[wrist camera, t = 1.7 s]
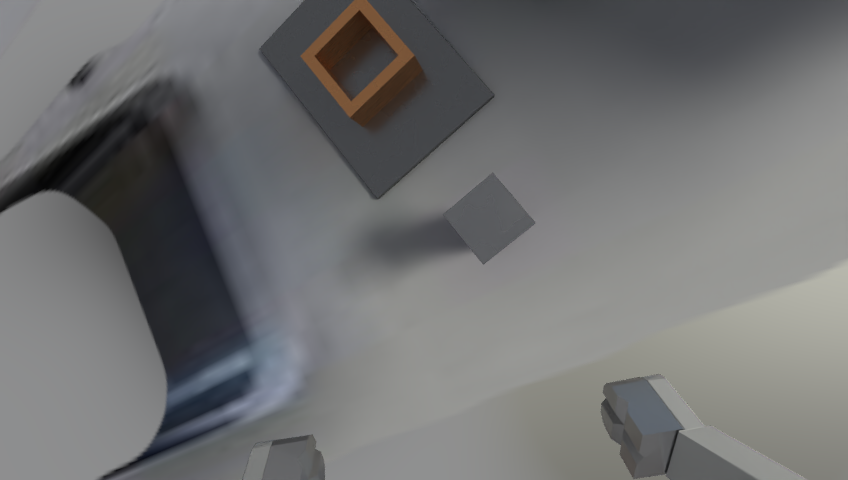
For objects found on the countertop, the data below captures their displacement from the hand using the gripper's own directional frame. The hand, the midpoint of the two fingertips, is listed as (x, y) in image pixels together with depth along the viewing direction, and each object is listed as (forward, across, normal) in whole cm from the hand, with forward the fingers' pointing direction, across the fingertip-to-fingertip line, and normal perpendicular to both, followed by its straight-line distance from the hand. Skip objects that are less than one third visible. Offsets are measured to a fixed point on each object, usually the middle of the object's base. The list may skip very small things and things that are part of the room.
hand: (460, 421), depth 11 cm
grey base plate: (+34, +2, -6) cm, 35 cm away
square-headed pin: (+24, -7, +7) cm, 25 cm away
